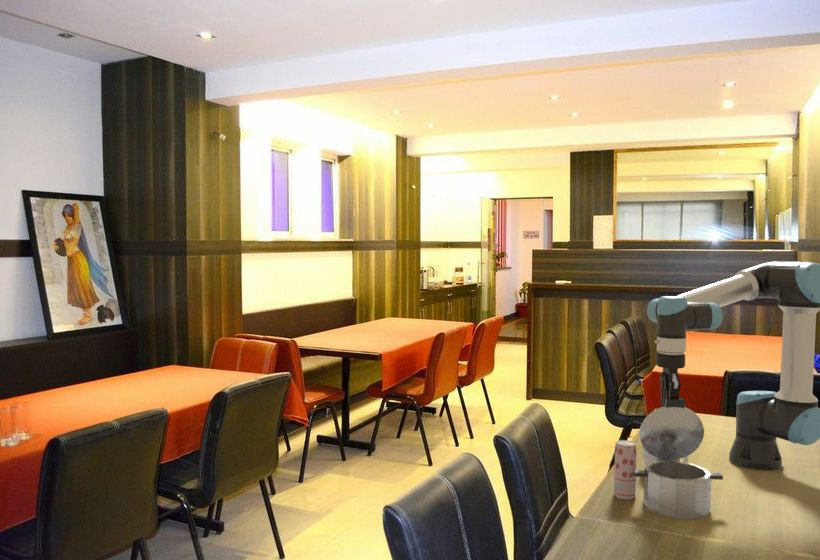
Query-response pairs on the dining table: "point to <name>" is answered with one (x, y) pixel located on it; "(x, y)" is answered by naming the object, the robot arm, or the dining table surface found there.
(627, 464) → the beverage can
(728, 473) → the dining table surface
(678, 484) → the pot
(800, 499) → the dining table surface
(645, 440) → the lid
